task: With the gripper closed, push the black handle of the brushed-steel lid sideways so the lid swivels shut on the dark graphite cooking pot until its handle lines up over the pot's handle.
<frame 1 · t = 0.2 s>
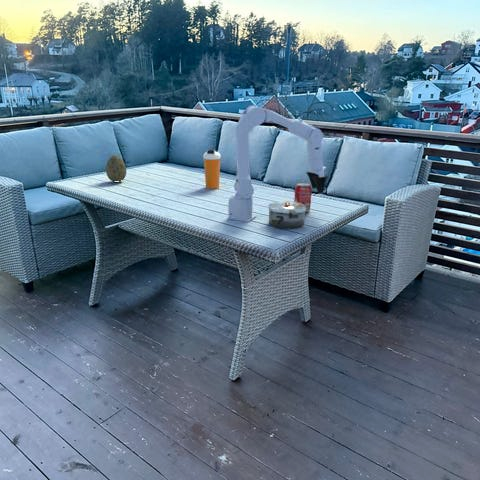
hand: (317, 190, 171), 11 cm above the table, tool pointing down, fingers open, 7 cm apart
shaker bottle: (212, 187, 218), on the table
soda can: (301, 211, 179), on the table
lid: (288, 207, 158), point 7 cm above the table, hinge at 35.0°
cooker pot: (286, 223, 163), on the table
decorative egg: (117, 182, 229), on the table
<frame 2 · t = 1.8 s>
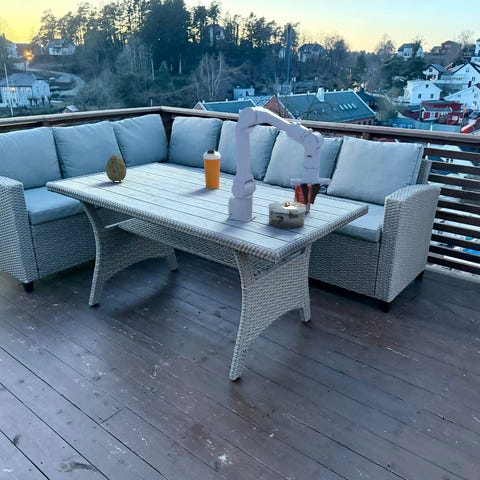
hand: (309, 203, 152), 10 cm above the table, tool pointing down, fingers closed
nothing on the table moved.
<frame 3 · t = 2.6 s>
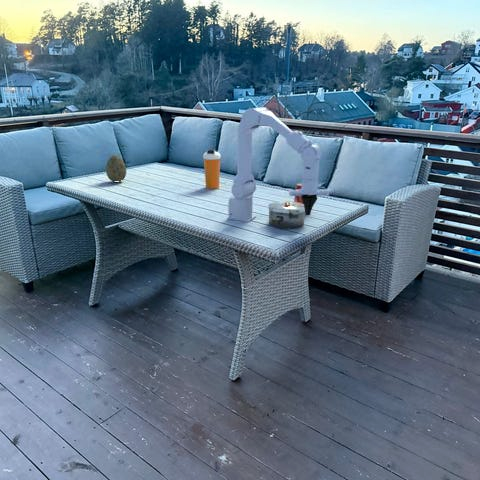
hand: (307, 214, 153), 6 cm above the table, tool pointing down, fingers closed
nothing on the table moved.
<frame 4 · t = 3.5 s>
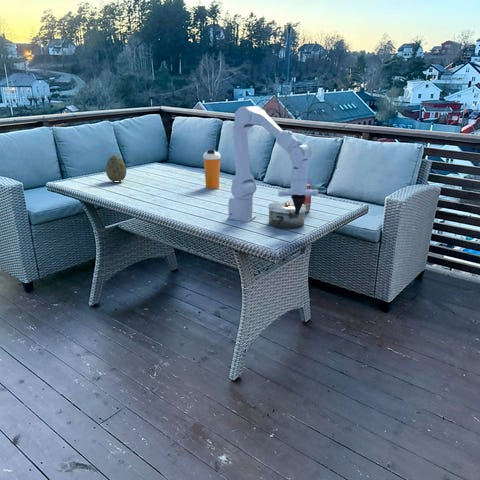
hand: (297, 214, 153), 6 cm above the table, tool pointing down, fingers closed, pressing on lid
lid: (288, 207, 158), point 7 cm above the table, hinge at 34.6°, touching gripper
everything else where it was.
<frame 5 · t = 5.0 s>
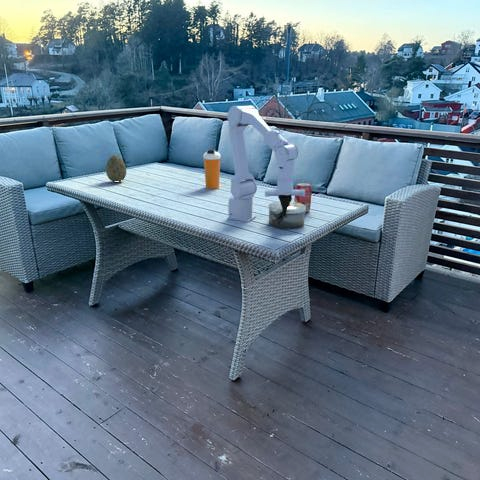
hand: (284, 214, 153), 6 cm above the table, tool pointing down, fingers closed, pressing on lid
lid: (285, 207, 159), point 7 cm above the table, hinge at 0.7°, touching gripper
everything else where it was.
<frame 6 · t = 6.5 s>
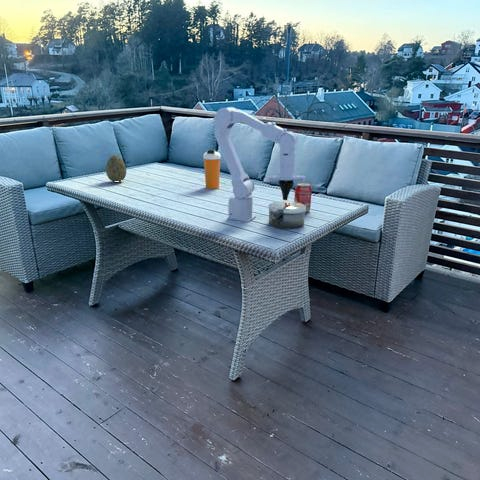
hand: (284, 199, 161), 10 cm above the table, tool pointing down, fingers closed
lid: (285, 207, 159), point 7 cm above the table, hinge at 0.5°
everything else where it was.
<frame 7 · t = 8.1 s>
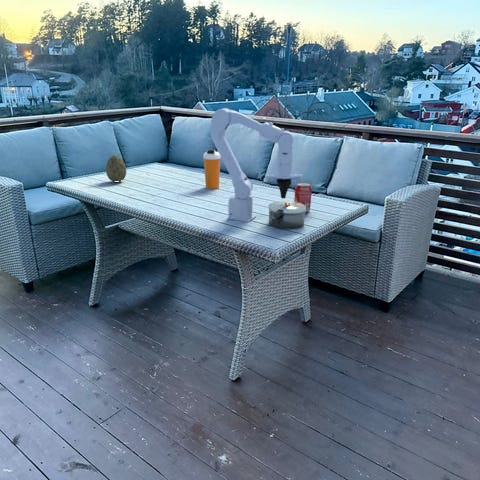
hand: (283, 197, 164), 9 cm above the table, tool pointing down, fingers closed
nothing on the table moved.
at the end: lid at +0° (first picture: +35°); soda can moved 0.2 cm from its start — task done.
